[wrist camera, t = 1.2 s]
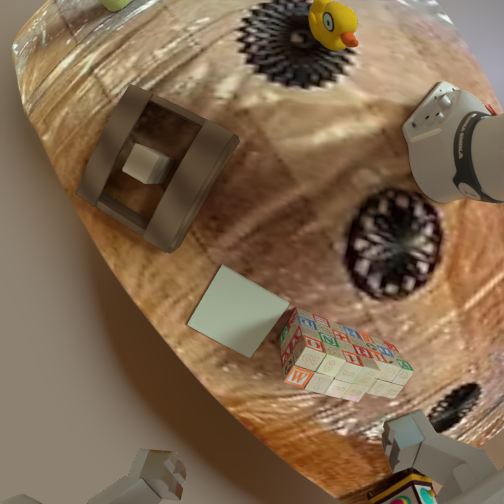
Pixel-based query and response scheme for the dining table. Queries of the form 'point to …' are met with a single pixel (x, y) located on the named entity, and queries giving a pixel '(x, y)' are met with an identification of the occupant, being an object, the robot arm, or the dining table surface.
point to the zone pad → (237, 312)
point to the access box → (182, 184)
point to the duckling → (333, 24)
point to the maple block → (148, 165)
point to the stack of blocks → (339, 359)
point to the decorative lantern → (407, 491)
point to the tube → (114, 4)
